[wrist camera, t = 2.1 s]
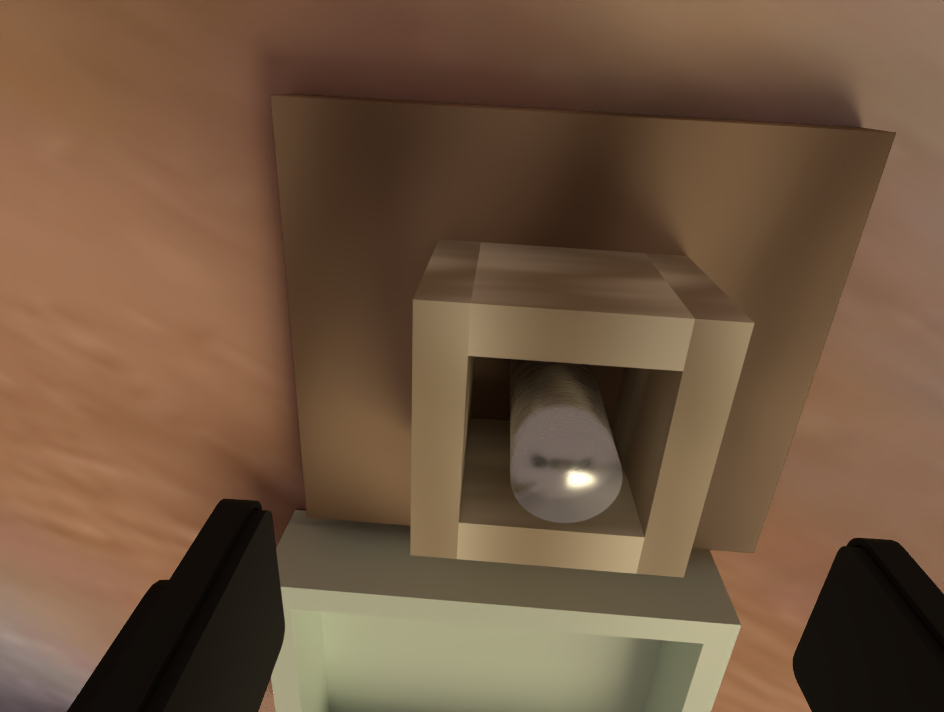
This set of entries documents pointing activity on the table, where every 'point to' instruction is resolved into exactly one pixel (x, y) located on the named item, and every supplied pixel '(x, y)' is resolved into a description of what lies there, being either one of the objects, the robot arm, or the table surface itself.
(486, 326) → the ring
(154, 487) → the table surface
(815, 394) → the table surface
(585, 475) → the cylinder
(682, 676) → the tray
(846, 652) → the robot arm
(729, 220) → the stake board
